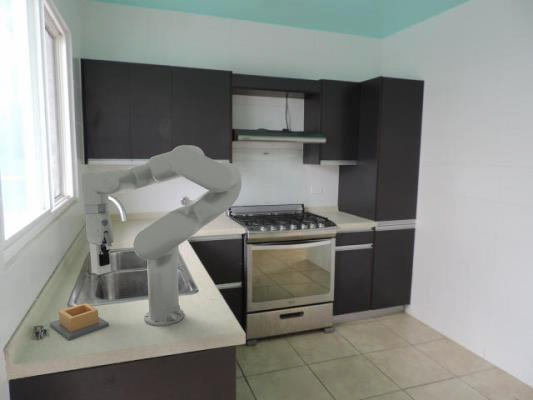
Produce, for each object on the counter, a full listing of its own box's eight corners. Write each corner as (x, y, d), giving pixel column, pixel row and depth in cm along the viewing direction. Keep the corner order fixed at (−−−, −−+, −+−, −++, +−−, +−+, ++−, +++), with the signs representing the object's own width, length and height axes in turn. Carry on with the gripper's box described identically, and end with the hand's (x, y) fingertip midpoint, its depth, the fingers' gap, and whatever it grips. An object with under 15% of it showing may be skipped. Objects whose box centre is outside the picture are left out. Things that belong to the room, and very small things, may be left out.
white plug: (111, 271, 126) (109, 242, 125) (98, 274, 123) (95, 244, 122) (104, 268, 129) (102, 240, 128) (92, 272, 126) (89, 242, 124)
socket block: (108, 325, 119) (107, 310, 119) (68, 340, 110) (67, 323, 110) (88, 313, 128) (87, 299, 128) (50, 325, 119) (48, 310, 119)
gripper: (120, 209, 121) (124, 265, 123) (96, 205, 132) (100, 257, 134) (97, 213, 115) (102, 271, 117) (73, 208, 126) (78, 262, 128)
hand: (101, 263), depth 126 cm, fingers closed on white plug, 4 cm apart
